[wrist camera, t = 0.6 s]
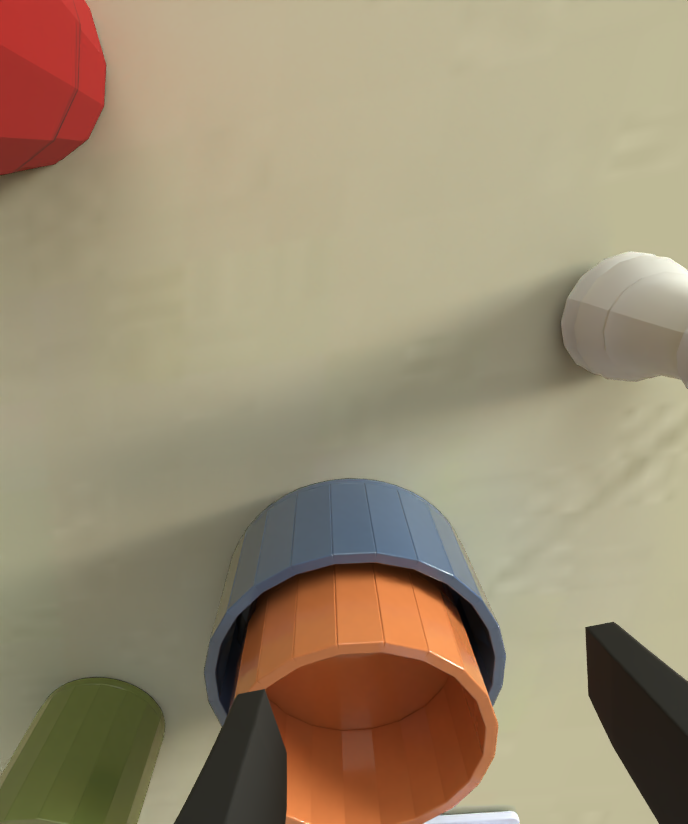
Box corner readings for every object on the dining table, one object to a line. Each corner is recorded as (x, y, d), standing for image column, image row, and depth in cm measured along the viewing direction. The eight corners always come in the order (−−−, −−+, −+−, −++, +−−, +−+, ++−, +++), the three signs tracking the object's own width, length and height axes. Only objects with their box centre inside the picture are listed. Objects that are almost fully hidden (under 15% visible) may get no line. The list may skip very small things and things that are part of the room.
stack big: (459, 667, 24) (492, 773, 19) (241, 678, 24) (221, 790, 19) (474, 473, 21) (519, 546, 16) (216, 483, 20) (186, 561, 16)
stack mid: (437, 650, 24) (486, 829, 17) (262, 659, 23) (238, 845, 16) (446, 497, 21) (509, 635, 14) (247, 506, 21) (209, 650, 14)
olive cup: (173, 760, 25) (131, 912, 20) (56, 767, 25) (-19, 921, 20) (155, 673, 23) (103, 814, 18) (28, 680, 23) (-65, 825, 18)
